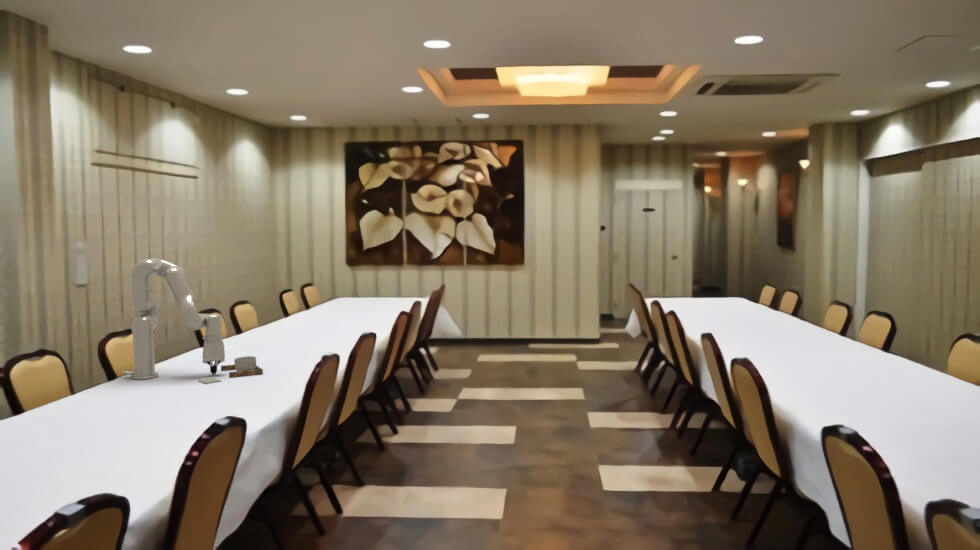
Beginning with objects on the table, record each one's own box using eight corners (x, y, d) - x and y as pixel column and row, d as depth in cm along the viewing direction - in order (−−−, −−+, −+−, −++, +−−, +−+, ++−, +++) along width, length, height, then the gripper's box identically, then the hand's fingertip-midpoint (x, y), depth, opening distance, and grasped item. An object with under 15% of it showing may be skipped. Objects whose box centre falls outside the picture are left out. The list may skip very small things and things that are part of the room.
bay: (229, 377, 358) (229, 372, 358) (221, 370, 375) (221, 365, 374) (262, 374, 367) (262, 369, 366) (252, 367, 383) (252, 362, 383)
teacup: (251, 375, 364) (251, 360, 363) (230, 374, 365) (230, 359, 364) (261, 369, 378) (261, 355, 377) (242, 369, 379) (242, 354, 378)
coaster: (205, 385, 343) (205, 382, 343) (197, 382, 348) (197, 380, 348) (221, 382, 349) (221, 380, 349) (213, 380, 354) (213, 377, 354)
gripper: (199, 340, 355) (199, 376, 356) (230, 338, 363) (230, 373, 364) (196, 338, 361) (196, 373, 362) (226, 336, 369) (227, 371, 370)
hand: (213, 373), depth 363 cm, fingers closed
